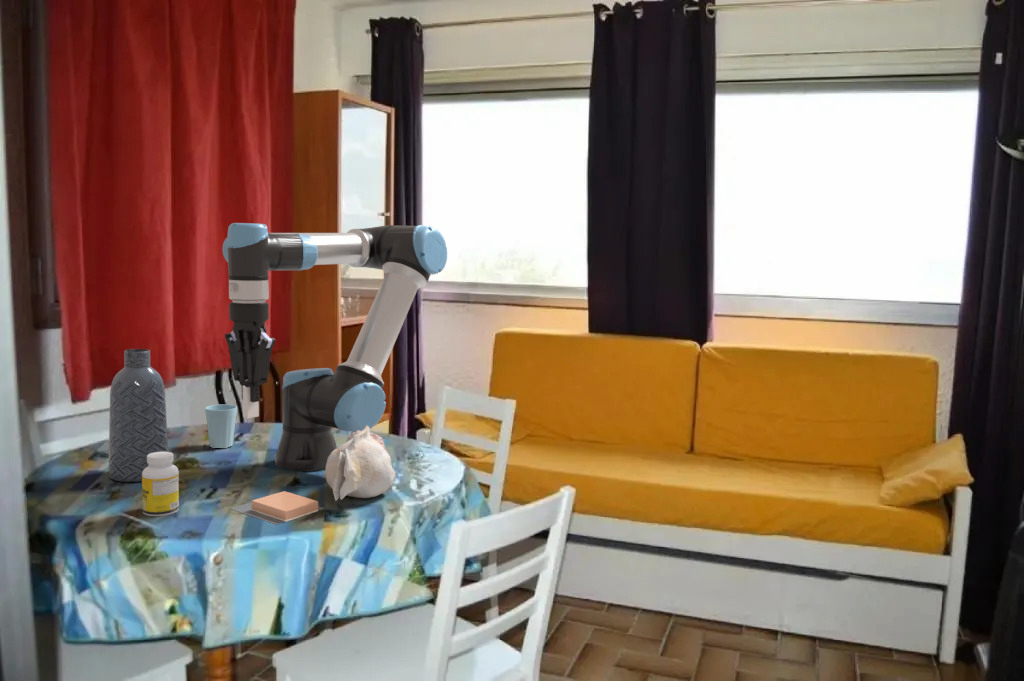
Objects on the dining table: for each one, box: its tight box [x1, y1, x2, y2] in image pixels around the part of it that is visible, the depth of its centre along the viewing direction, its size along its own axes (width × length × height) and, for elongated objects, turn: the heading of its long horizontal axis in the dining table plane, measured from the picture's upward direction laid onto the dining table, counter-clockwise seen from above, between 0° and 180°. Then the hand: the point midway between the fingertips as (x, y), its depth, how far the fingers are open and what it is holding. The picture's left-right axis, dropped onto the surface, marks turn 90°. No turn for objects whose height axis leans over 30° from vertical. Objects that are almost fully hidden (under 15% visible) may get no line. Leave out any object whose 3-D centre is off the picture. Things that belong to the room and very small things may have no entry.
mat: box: [229, 501, 326, 526], centre depth 154 cm, size 14×12×1 cm
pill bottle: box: [141, 451, 180, 517], centre depth 150 cm, size 6×6×12 cm
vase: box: [108, 348, 169, 483], centre depth 173 cm, size 12×12×28 cm
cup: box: [204, 403, 238, 449], centre depth 200 cm, size 8×8×10 cm
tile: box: [251, 490, 319, 523], centre depth 153 cm, size 2×8×10 cm
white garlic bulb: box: [324, 425, 397, 502], centre depth 164 cm, size 16×19×15 cm
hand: (251, 416), depth 158 cm, fingers closed
